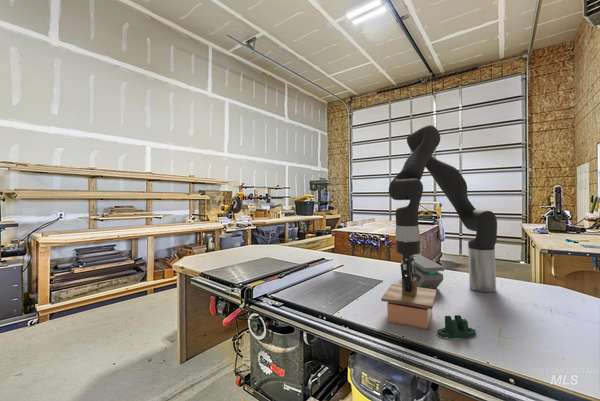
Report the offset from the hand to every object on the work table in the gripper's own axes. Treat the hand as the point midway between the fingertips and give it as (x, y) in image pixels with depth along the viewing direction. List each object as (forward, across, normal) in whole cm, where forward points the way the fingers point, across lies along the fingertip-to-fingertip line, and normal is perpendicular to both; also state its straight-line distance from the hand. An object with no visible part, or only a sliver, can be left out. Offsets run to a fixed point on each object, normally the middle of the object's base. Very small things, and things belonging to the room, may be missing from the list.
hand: (409, 289), depth 90 cm
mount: (+10, +5, +14) cm, 18 cm away
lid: (+3, 0, 0) cm, 3 cm away
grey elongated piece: (+10, -37, -1) cm, 38 cm away
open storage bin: (+10, 0, 0) cm, 10 cm away
